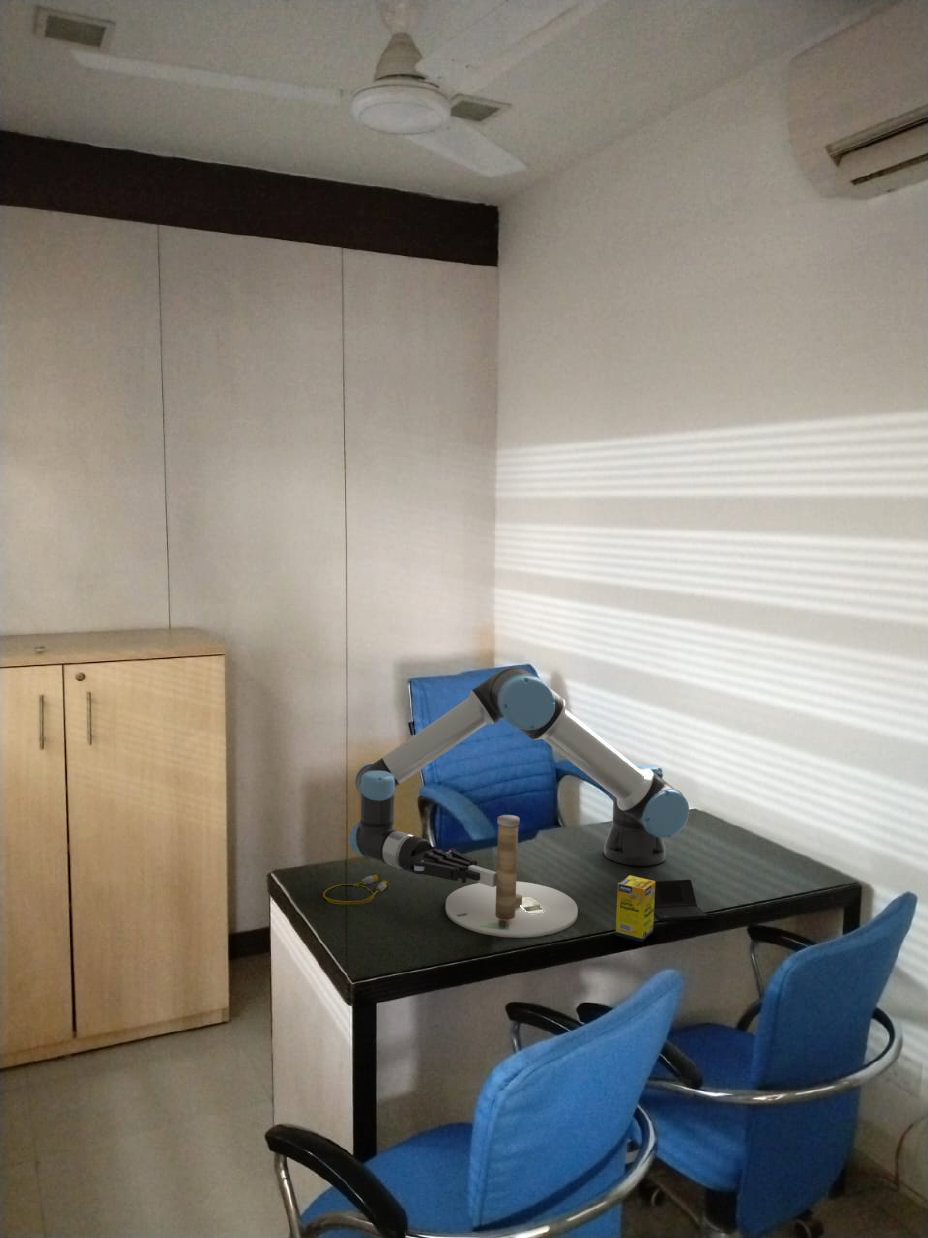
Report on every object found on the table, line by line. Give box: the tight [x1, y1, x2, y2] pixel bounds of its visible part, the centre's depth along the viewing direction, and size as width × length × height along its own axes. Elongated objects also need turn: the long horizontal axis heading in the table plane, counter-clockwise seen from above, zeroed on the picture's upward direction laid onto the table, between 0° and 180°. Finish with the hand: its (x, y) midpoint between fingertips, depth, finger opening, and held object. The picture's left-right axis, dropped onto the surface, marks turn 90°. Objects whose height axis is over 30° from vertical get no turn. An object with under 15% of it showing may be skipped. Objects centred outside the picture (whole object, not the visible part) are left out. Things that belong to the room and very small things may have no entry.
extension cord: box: [322, 874, 390, 905], centre depth 220 cm, size 12×16×2 cm
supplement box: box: [614, 875, 656, 943], centre depth 202 cm, size 6×6×11 cm
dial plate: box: [445, 880, 579, 939], centre depth 213 cm, size 28×28×1 cm
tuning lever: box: [495, 814, 522, 928], centre depth 206 cm, size 16×4×21 cm, turn 170°
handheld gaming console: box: [654, 879, 708, 923], centre depth 214 cm, size 12×7×10 cm
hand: (495, 879), depth 203 cm, fingers closed
